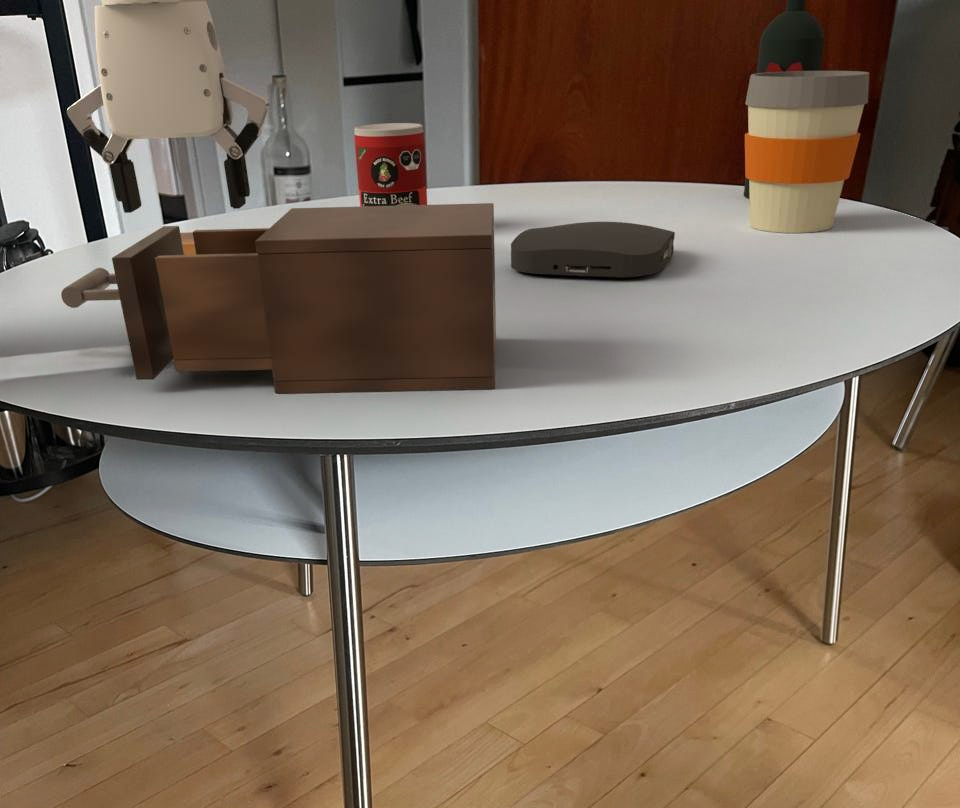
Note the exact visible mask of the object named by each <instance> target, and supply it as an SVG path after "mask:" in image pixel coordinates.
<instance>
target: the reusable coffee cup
mask: <svg viewBox="0 0 960 808" xmlns="http://www.w3.org/2000/svg"><path fill="white" fill-rule="evenodd" d="M747 87H748V88H747V93H746V97H745V103H744V104H745V105H746V106H747V117H748V120H747V121H748V126H747V127H748V132H746V133H744V170H745V172H744V175H745V176H744V177H745V178H747V179H749V193H750V198H749V226H750V227H751V228H753V229H754V230H758V231H763V232H769V233H770V232H771V233H784V234H804V233H816V232H825V231H827V230H830V229H832V227H833V225H834V221H835V217H836V213H837V209H838V205H839V202H840V197H841V194H842V190H843V187H844V184H845V180H849V178H850V175H851V172H852V167H853V164H854V160H855V157H856V152H857V149H858V146H859V141H860V137H861V133H860V132H858V130H859V126H860V123H861V119H862V115H863V111H864V107H865V105H867V104H868V103H869V89H870V72H868V71H858V70H821V71H789V72H769V73H757V72H756V73H752V74H750V77H749V83H748V86H747Z"/></svg>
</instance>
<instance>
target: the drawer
mask: <svg viewBox="0 0 960 808" xmlns="http://www.w3.org/2000/svg"><path fill="white" fill-rule="evenodd" d="M269 228H270V227H268V228H267V227H263V228H261V227H259V228H258V227H257V228H226V229H225V228H220V229H216V228H215V229H195V230H193V231H192V232H193V238H194V244H195V250H196V255H184V252H183V246H182V240H181V234H180V233H181V230H180V226H179V225H164V226H162V227H160V228H158V229H157V230H155V231H153V232H151V233H150V234H148V235H147V236H145V237H144V238H142V239H141V240H139V241H137V242H135V243H134V244H132V245H131V246H129V247H127V248H125V249H124V250H122V251H121V252H119V253H118V254H116V255H114V256H113V257H111V262H112V267H113V272H114V273H110V272H109V271H108V270H107V269H105V268H104V267H97V268H94V269H92V270H91V271H90V272H88V273H86V274H85V275H83V276H82V277H79V278H78V279H76V280H75V281H73V282H72V283H70V284H68V285H67V286H65V287H64V288H63V289H62V290H61V294H60V295H61V300H62V302H63V304H65V305H66V306H67V307H69V308H70V309H76V308H79V307H81V306H82V305H83V304H85V303H87V302H89V301H91V302H92V301H94V302H95V301H120V305H121V306H120V307H121V310H122V315H123V316H122V317H123V321H124V325H125V329H126V335H127V340H128V345H129V350H130V356H131V359H132V365H133V369H134V374H135V378H136V380H137V381H146V380H147V381H153V380H155V379H156V378H157V377H158V376H159V375H160V374H161V373H162V372H163V371H164V370H165V369H166V367H167V366H168V365H170V363H171V362H172V361H173V365H174V370H175V372H176V373H177V372H178V373H179V372H181V373H182V372H220V371H221V372H223V371H225V372H226V371H227V372H229V371H270V370H271V371H272V365H271V357H270V350H269V342H268V335H267V327H266V320H265V312H264V305H263V297H262V290H261V282H260V275H259V267H258V260H257V252H256V245H255V241H256V240H257V239H258V238H259V237H260V236H261V235H263V234H264V233H265V232H266V231H267V230H268V229H269ZM111 285H117V288H115V289H114V288H113V289H110V288H109V289H108V287H110V286H111Z"/></svg>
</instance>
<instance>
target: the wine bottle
mask: <svg viewBox="0 0 960 808" xmlns="http://www.w3.org/2000/svg"><path fill="white" fill-rule="evenodd" d="M806 5H807V0H786V7H785V11H784V12H782V13H780V14H778V15H777V16H776V17H775V18H773V20H771V21H770V22H769V23H768V25H767V26H766V28H765V29H764V31H763V32H762V34H761V37H760V38H759V46H758V47H759V49H758V58H757V67H756V74H757V73H769V72H789V71H822V63H823V55H824V46H825V39H826V38H825V34H824V33H825V32H824V29H823V26H821V23H820V22H819V20H818V19H817V18H815V16H813V14H811V13H810V12H808V11H806ZM743 197H745V199H750V193H749V179H747V178H746V177H745V179H744V189H743Z"/></svg>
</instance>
